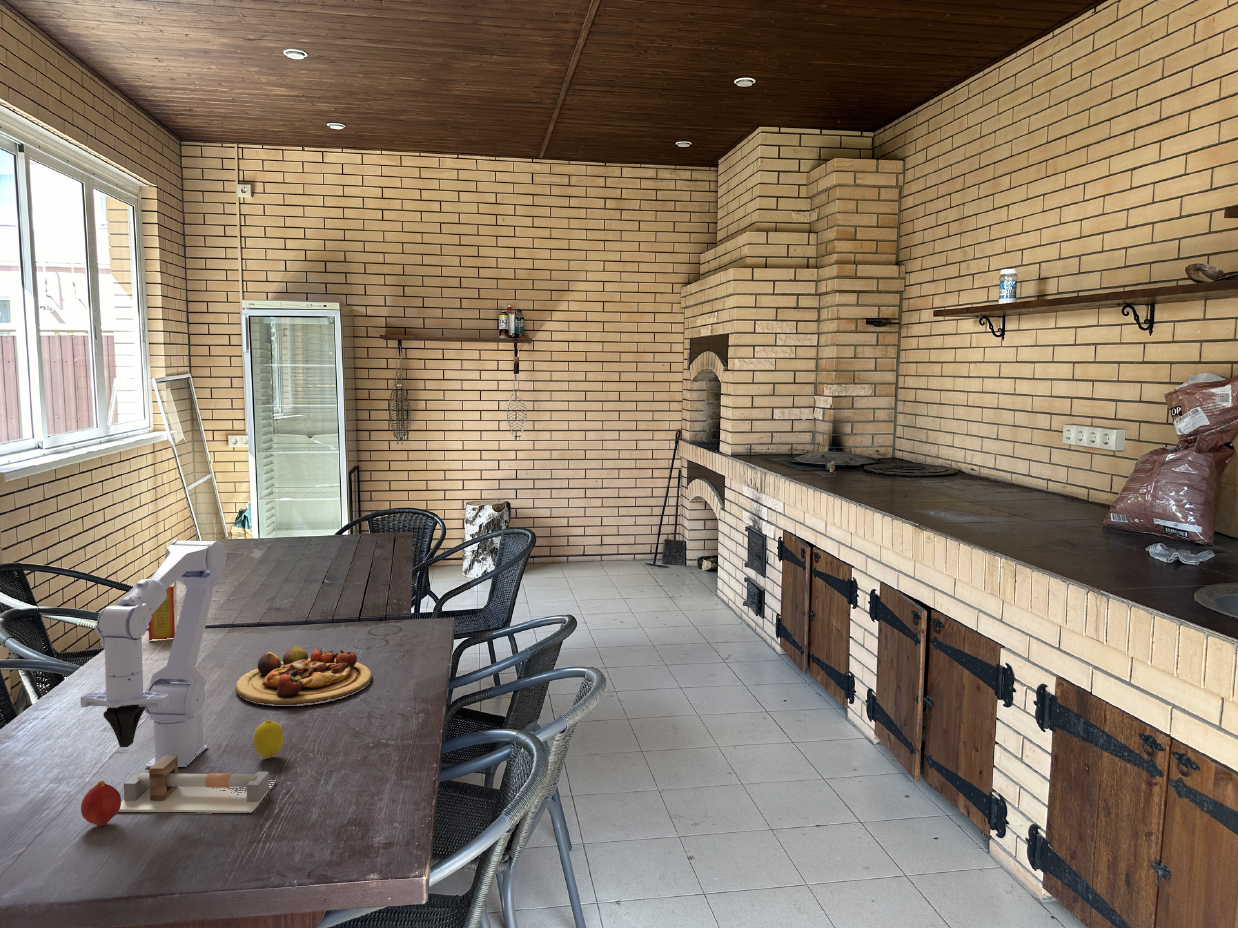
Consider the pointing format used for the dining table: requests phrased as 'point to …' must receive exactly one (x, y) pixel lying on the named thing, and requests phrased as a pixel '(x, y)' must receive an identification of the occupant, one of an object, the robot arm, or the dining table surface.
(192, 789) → the rail
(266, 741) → the lemon
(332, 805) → the dining table surface
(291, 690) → the wooden plate with food
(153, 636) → the baking soda box
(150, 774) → the collar
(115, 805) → the red pomegranate
